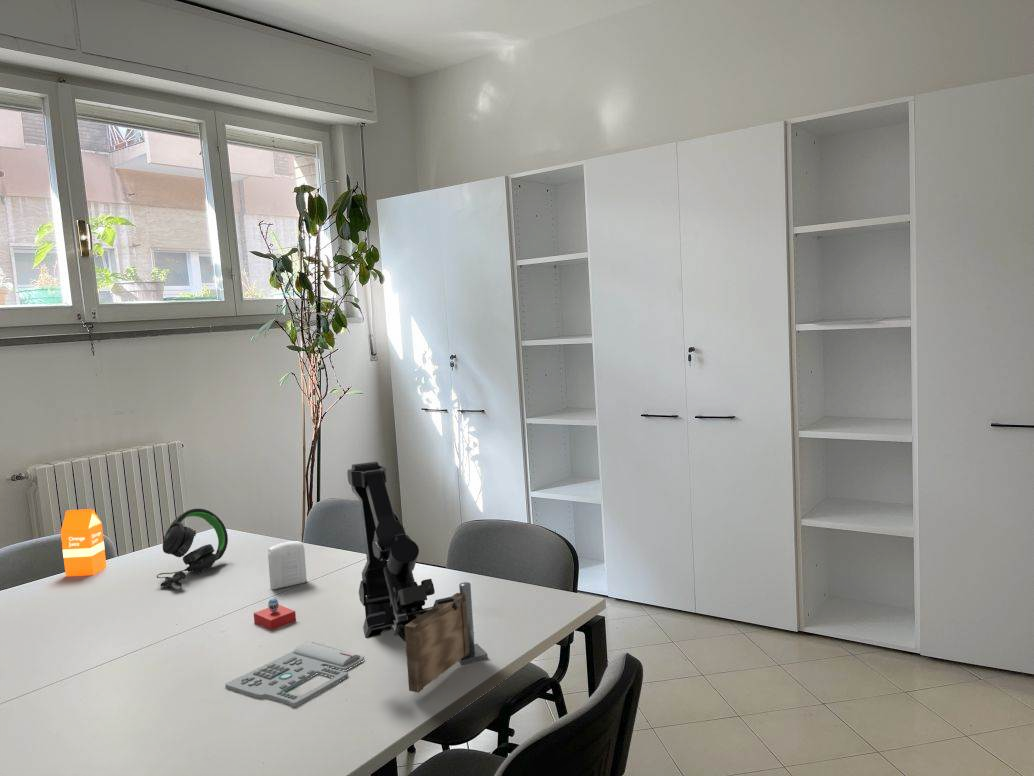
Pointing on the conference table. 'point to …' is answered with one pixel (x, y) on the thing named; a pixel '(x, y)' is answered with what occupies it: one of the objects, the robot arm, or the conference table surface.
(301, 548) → the white tombstone
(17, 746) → the conference table surface
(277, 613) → the joystick
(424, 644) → the gate
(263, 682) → the office telephone
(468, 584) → the gate post
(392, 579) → the robot arm
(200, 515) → the headset
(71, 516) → the orange juice
